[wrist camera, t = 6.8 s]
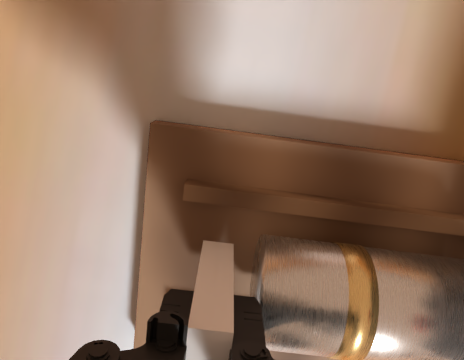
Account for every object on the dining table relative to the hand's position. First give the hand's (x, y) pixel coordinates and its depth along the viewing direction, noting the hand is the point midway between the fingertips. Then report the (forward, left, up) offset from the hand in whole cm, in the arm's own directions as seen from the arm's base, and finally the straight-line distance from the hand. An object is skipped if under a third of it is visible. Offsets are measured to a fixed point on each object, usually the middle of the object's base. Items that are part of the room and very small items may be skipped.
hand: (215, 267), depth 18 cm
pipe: (+7, 0, -1) cm, 7 cm away
